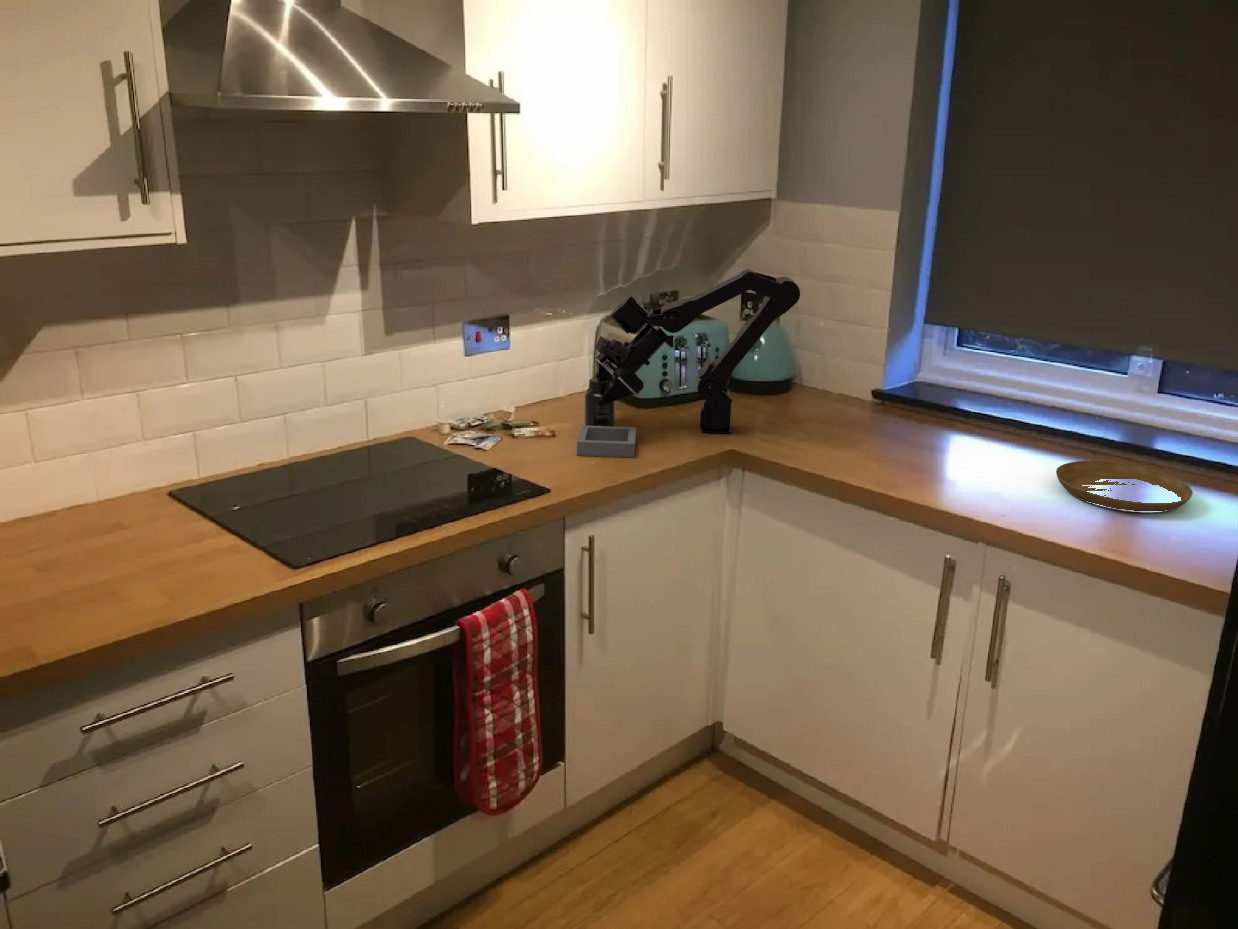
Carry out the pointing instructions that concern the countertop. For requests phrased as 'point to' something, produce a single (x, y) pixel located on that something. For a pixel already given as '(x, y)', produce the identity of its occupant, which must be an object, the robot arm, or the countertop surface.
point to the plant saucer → (1092, 471)
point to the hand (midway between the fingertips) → (593, 399)
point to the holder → (606, 441)
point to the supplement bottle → (593, 410)
